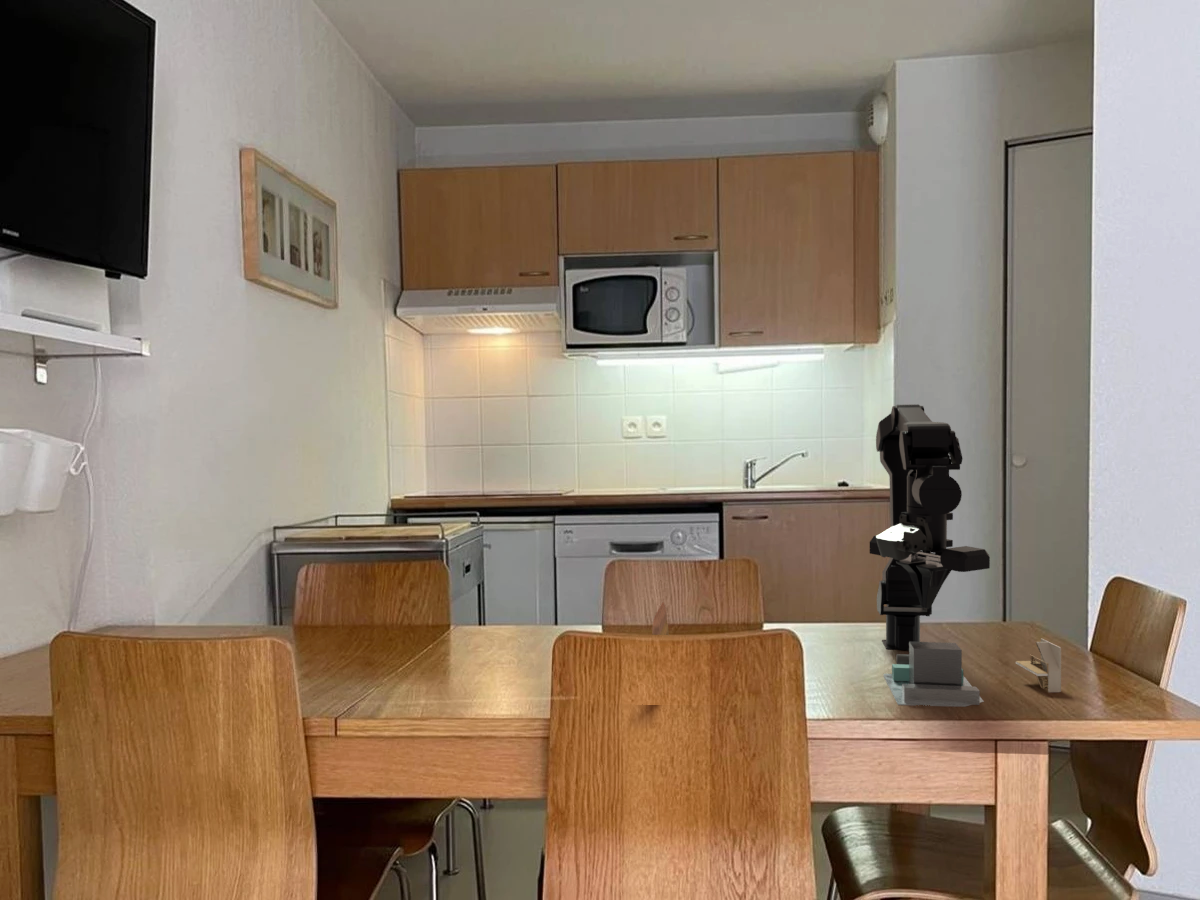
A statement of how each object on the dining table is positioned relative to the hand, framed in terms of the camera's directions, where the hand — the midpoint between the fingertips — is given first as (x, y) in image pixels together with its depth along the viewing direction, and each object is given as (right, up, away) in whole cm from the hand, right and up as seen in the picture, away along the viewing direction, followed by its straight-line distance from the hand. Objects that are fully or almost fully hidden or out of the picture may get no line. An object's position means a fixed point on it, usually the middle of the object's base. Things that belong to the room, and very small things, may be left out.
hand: (926, 607), depth 137 cm
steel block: (-1, -11, -7) cm, 13 cm away
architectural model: (+16, -12, -4) cm, 20 cm away
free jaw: (0, -11, +2) cm, 11 cm away
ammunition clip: (-41, -12, 0) cm, 42 cm away
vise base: (-1, -12, -5) cm, 13 cm away
